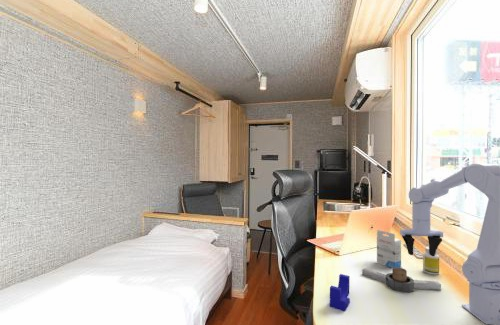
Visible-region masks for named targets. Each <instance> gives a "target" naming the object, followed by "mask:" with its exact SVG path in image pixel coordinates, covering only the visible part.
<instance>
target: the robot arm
mask: <svg viewBox="0 0 500 325" xmlns="http://www.w3.org/2000/svg"><path fill="white" fill-rule="evenodd" d="M467 183H468V184H470V185H471V186H472V187H474V188H475V189H477V190H478V191H480V192H481V193H482V194H484V195H485V196H486V198H488V201H487V204H486V209H485V214H484V217H483V221H482V226H481V229H480V234H479V238H478V241H477V248H476V249H475V250H473V251H472V252H471V253H469V254H468V255H467V259H466V261H464V262H463V264H462V266H461V269H462V273H463V275H464V278H466V279H467V282H468V288H469V289H468V298H469V299H468V302H469V303H468V304H466V303H465V304H464V303H462V304H461V307H463V308H464V309H465V310H467V311H468V312H470V314H472V315H473V316H474V317H475V318H477V319H478V320H480V321H481V322H482V323H484V324H486V325H500V163H496V164H492V163H471V164H469V165H468V166H464V167H462V168H461V169H460V170H459V171H457V172H455V173H453V174H451V175H450V176H448V177H446V178H444V179H442V180H441V179H435V178H434V179H431V180H430V182H428V183H426V184H422V185H421V186H420V187H412V188H411V189H410V190H409V192H408V198H409V200H410V201H411V203H412V206H411V207H412V209H411V210H412V212H411V214H412V216H411V218H412V222H411V223H412V228H409V229H399V235H400V236H401V238H402V239H403V241H404V244H405V246H406V249H407V253H408V255H410V256H414V246H415V245H414V243H415V241H416V239H415V238H414V237H413V236H415V237H427V239H428V247H429V254H430V255H431V256H435V253H436V250H437V251H438V248H439V246H440V244H441V243H442V241H443V239H442V238H444V232H443V231H441V230H431V208H432V207H433V202H434V201H435V200H436V199H438V198H441V197H442V196H445V195H447V194H449V190H450V189H453V188H456V187H459V186H461V185H464V184H467ZM436 254H437V253H436Z"/></svg>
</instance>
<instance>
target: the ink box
mask: <svg viewBox="0 0 500 325" xmlns="http://www.w3.org/2000/svg"><path fill="white" fill-rule="evenodd" d="M376 232H377V233H376V263H377V264H381V265H383V266H385V267H389V268H391V269H392V268H394V267H399V268H402V239H399V238H395V237H396V234H395V233H393V232H387V231H384V230H379V229H377V230H376Z"/></svg>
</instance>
